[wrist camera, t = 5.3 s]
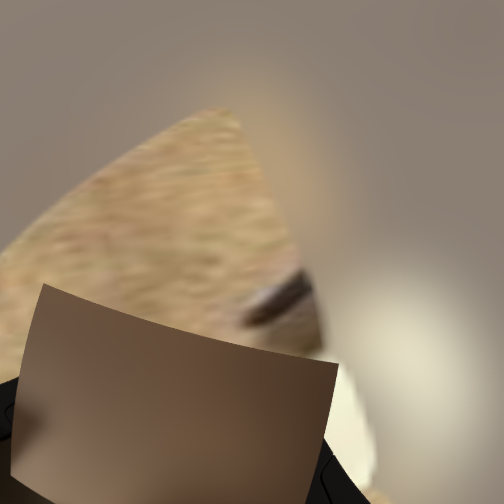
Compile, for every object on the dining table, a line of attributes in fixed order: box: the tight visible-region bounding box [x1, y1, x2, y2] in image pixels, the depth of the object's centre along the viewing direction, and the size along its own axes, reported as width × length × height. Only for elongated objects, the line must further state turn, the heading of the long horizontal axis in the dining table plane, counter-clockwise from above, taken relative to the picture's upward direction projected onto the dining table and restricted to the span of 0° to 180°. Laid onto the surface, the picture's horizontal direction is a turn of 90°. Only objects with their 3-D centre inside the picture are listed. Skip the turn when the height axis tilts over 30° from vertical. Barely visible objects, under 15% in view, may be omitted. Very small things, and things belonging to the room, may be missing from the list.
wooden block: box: [11, 284, 339, 504], centre depth 9 cm, size 4×4×12 cm
